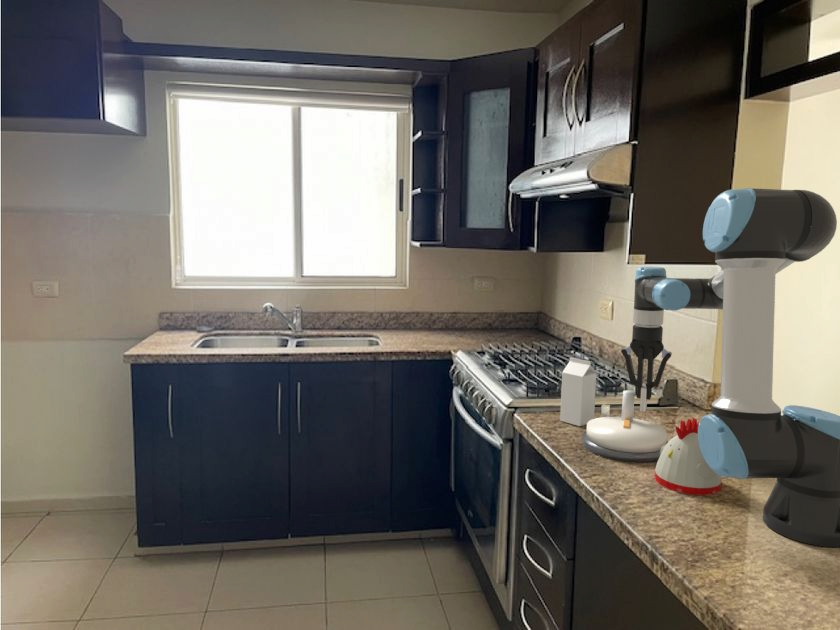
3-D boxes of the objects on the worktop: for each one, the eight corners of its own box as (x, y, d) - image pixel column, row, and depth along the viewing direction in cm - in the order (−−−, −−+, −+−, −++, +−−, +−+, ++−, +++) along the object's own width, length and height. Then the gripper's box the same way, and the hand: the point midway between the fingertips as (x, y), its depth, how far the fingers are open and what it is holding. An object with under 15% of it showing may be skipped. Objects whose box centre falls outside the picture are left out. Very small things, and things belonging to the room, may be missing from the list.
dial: (667, 457, 149) (670, 413, 147) (582, 446, 156) (584, 404, 154) (665, 432, 168) (668, 393, 166) (589, 423, 174) (591, 385, 173)
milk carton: (580, 427, 178) (583, 363, 176) (559, 421, 183) (562, 358, 181) (593, 422, 183) (597, 359, 180) (573, 416, 188) (577, 355, 186)
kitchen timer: (641, 474, 144) (646, 412, 142) (688, 467, 149) (692, 407, 147) (685, 499, 131) (691, 431, 129) (735, 490, 136) (741, 425, 134)
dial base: (665, 469, 147) (668, 440, 146) (573, 453, 157) (575, 426, 156) (673, 438, 170) (675, 413, 169) (592, 426, 179) (593, 402, 178)
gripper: (675, 324, 164) (669, 409, 167) (624, 321, 170) (620, 403, 173) (672, 329, 157) (667, 417, 161) (620, 325, 163) (616, 410, 167)
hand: (643, 410), depth 167 cm, fingers closed
